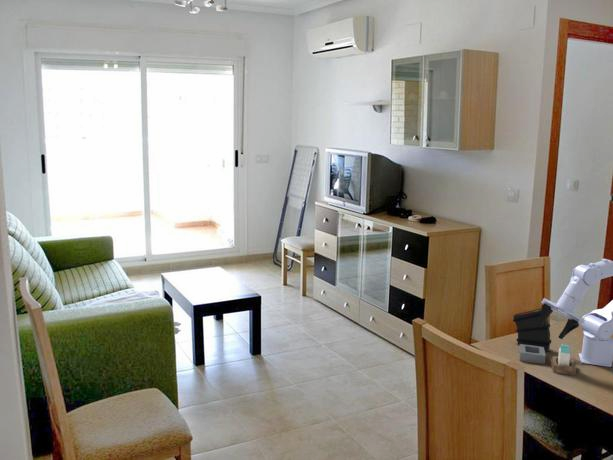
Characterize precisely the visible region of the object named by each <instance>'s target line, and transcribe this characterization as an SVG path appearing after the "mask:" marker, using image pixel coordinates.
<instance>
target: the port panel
mask: <svg viewBox="0 0 613 460" xmlns="http://www.w3.org/2000/svg"><path fill="white" fill-rule="evenodd" d="M518 353H519V354H518V356H519V361H520V362H521V361H522V362H527V363H533V364H535V363H536V364H540V365H541V364H542V365H546V364H545V363H546V351H545V350H544V347H539V346H531V345H524V344H520V345H519V348H518Z"/></svg>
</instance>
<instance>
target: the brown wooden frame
mask: <svg viewBox="0 0 613 460" xmlns="http://www.w3.org/2000/svg"><path fill="white" fill-rule="evenodd" d="M550 363H551V367H552V372H553V373H557V374H565V375H570V376H575V375H576V365H575V362H574V359H573V358H570V362H569V366H566V365H559V364H558V356H554V355H553V356H551V362H550Z"/></svg>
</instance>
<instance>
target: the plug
mask: <svg viewBox="0 0 613 460" xmlns="http://www.w3.org/2000/svg"><path fill="white" fill-rule="evenodd" d="M570 350H571V349H570V345H569V344H561V343H560V347H559V349H558V356H557V357H558V364H559V365H566V366H569V362H570V359H571V352H570Z"/></svg>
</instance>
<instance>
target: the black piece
mask: <svg viewBox="0 0 613 460" xmlns="http://www.w3.org/2000/svg"><path fill="white" fill-rule="evenodd" d="M541 309H542V307H541V308H536V309H532V310H528V311H523V312H519V313H516V314H513V317H512V318H513V319H512V322H514V323H515V326H516V329H515V332H516V333H517V338H516V340H515V341H516V342H517V343H516V344H517V345H518V346H520V344H524V345H531V346H539V347H544V350H545V352H549V350H550V349H551V348H550V347H551V343H552V339H551V332H550V327H551V323H549V320H548V319H549V318H547V319H546V321H545V323H544V324H543V326H542V327H540V326H538V324H539V321H540V317H541Z"/></svg>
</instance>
